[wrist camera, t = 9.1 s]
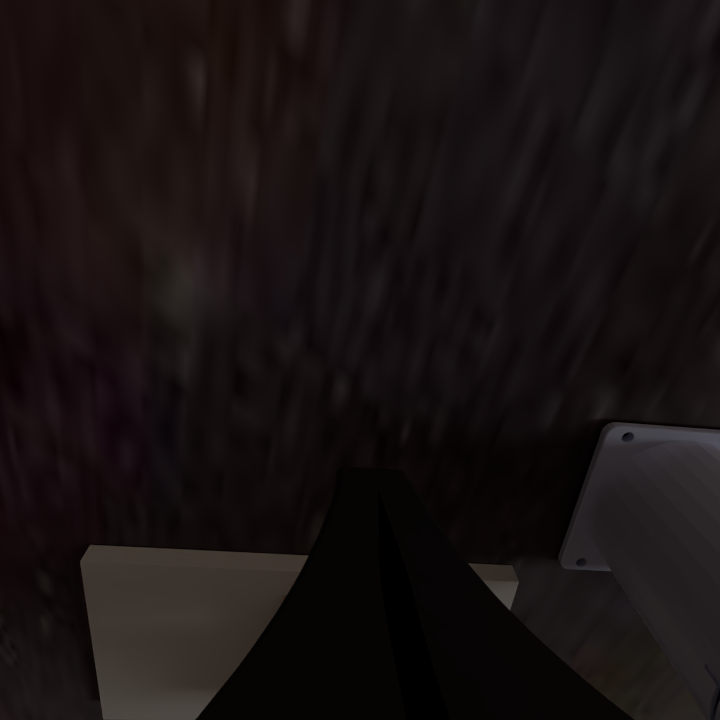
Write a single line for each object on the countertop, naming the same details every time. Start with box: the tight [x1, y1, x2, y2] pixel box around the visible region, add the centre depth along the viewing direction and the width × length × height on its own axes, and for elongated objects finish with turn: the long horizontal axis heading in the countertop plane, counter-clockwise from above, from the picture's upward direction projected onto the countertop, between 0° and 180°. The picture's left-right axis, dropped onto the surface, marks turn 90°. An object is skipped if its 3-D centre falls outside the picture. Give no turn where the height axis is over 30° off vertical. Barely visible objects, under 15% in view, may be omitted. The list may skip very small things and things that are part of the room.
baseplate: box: [80, 545, 519, 720], centre depth 25 cm, size 20×11×1 cm, turn 84°
